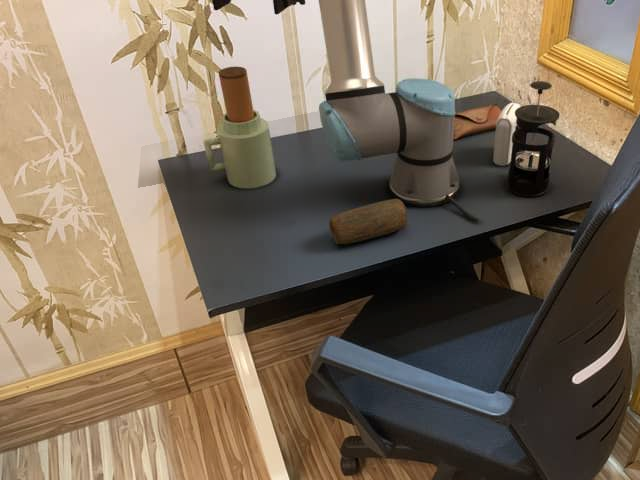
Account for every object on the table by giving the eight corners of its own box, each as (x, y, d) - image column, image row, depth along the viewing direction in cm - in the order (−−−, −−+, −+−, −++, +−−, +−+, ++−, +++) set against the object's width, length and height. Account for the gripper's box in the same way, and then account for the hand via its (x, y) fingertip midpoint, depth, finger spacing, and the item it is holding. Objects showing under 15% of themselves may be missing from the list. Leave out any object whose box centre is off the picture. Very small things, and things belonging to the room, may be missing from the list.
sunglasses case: (454, 139, 154) (448, 112, 152) (441, 143, 160) (435, 117, 159) (514, 124, 160) (508, 98, 158) (499, 129, 166) (494, 104, 165)
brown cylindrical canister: (257, 130, 133) (247, 74, 125) (230, 134, 131) (219, 77, 124) (254, 120, 137) (245, 65, 129) (228, 123, 136) (217, 68, 128)
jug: (279, 184, 139) (269, 123, 129) (213, 194, 136) (199, 131, 127) (273, 162, 147) (263, 102, 138) (211, 170, 144) (197, 110, 135)
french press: (558, 194, 134) (576, 89, 119) (520, 202, 132) (533, 96, 117) (531, 169, 143) (545, 69, 128) (495, 177, 140) (504, 75, 125)
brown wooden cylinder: (394, 217, 128) (393, 188, 124) (410, 234, 123) (410, 205, 119) (326, 236, 123) (323, 207, 118) (340, 255, 118) (338, 225, 114)
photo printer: (502, 146, 152) (507, 96, 144) (519, 149, 151) (525, 99, 143) (490, 164, 145) (494, 114, 137) (508, 167, 143) (513, 116, 135)
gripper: (336, 0, 143) (303, 28, 127) (237, -6, 148) (193, 20, 132) (334, -37, 138) (299, -12, 122) (231, -42, 143) (185, -18, 127)
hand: (244, 5), depth 127 cm, fingers open, 13 cm apart
